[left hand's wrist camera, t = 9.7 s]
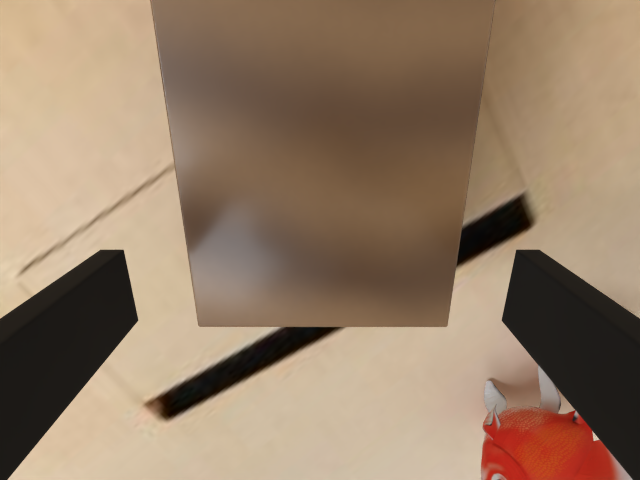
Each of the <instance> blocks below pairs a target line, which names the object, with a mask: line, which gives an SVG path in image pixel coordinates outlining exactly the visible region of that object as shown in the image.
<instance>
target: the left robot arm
mask: <svg viewBox="0 0 640 480" xmlns="http://www.w3.org/2000/svg"><path fill="white" fill-rule="evenodd" d="M137 321H138V317H137V312H136V307H135V302H134V298H133V293H132V288H131V283H130V278H129V273H128V269H127V264H126V259H125V254H124V250H100V251H98V252H97V253H95V254H94V255H92V256H91V257H90V258H88V259H87V260H85V261H84V262H82V263H81V264H79V265H78V266H76V267H75V268H74V269H72V270H71V271H69V272H68V273H66V274H65V275H63V276H62V277H60V278H59V279H57V280H56V281H55V282H53V283H52V284H50V285H49V286H47V287H46V288H44V289H43V290H41V291H40V292H39V293H37V294H36V295H34V296H33V297H31V298H30V299H28V300H27V301H25V302H24V303H23V304H21V305H20V306H18V307H17V308H15V309H14V310H12V311H11V312H9V313H8V314H6V315H5V316H4V317H2V318H1V319H0V480H7V479H8V478H9V477H10V476H11V475H12V473H13V472H14V471H15V470H16V468H17V467H18V466H19V465H20V464H21V462H22V461H23V460H24V459H25V458H26V456H27V455H28V454H29V453H30V451H31V450H32V449H33V448H34V447H35V445H36V444H37V443H38V442H39V441H40V439H41V438H42V437H43V436H44V434H45V433H46V432H47V431H48V430H49V428H50V427H51V426H52V425H53V423H54V422H55V421H56V420H57V419H58V417H59V416H60V415H61V414H62V413H63V411H64V410H65V409H66V408H67V406H68V405H69V404H70V403H71V402H72V400H73V399H74V398H75V397H76V395H77V394H78V393H79V392H80V391H81V389H82V388H83V387H84V386H85V385H86V383H87V382H88V381H89V380H90V378H91V377H92V376H93V375H94V374H95V372H96V371H97V370H98V369H99V368H100V366H101V365H102V364H103V363H104V361H105V360H106V359H107V358H108V357H109V355H110V354H111V353H112V352H113V350H114V349H115V348H116V347H117V346H118V344H119V343H120V342H121V341H122V340H123V338H124V337H125V336H126V335H127V333H128V332H129V331H130V330H131V329H132V327H133V326H134V325H135V324H136V323H137ZM502 321H503V323H504V324H505V325H506V326H507V327H508V329H509V330H510V331H511V332H512V333H513V335H514V336H515V337H516V338H517V340H518V341H519V342H520V343H521V344H522V346H523V347H524V348H525V349H526V350H527V352H528V353H529V354H530V355H531V357H532V358H533V359H534V360H535V361H536V363H537V364H538V365H539V366H540V368H541V369H542V370H543V371H544V372H545V374H546V375H547V376H548V377H549V378H550V380H551V381H552V382H553V383H554V385H555V386H556V387H557V388H558V389H559V391H560V392H561V393H562V394H563V396H564V397H565V398H566V399H567V400H568V402H569V403H570V404H571V405H572V406H573V408H574V409H575V410H576V411H577V413H578V414H579V415H580V416H581V417H582V419H583V420H584V421H585V422H586V423H587V425H588V426H589V427H590V428H591V430H592V431H593V432H594V433H595V434H596V436H597V437H598V438H599V439H600V441H601V442H602V443H603V444H604V445H605V447H606V448H607V449H608V450H609V451H610V453H611V454H612V455H613V456H614V458H615V459H616V460H617V461H618V462H619V464H620V465H621V466H622V467H623V468H624V470H625V471H626V472H627V473H628V475H629V476H630V477H631V478H632V479H633V480H640V319H639V318H638V317H636V316H635V315H634V314H632V313H631V312H629V311H628V310H626V309H625V308H623V307H622V306H620V305H619V304H617V303H616V302H615V301H613V300H612V299H610V298H609V297H607V296H606V295H604V294H603V293H601V292H600V291H599V290H597V289H596V288H594V287H593V286H591V285H590V284H588V283H587V282H585V281H584V280H583V279H581V278H580V277H578V276H577V275H575V274H574V273H572V272H571V271H569V270H568V269H566V268H565V267H564V266H562V265H561V264H559V263H558V262H556V261H555V260H553V259H552V258H550V257H549V256H548V255H546V254H545V253H543V252H542V251H540V250H516V254H515V259H514V264H513V269H512V273H511V278H510V283H509V288H508V293H507V298H506V302H505V307H504V312H503V317H502Z"/></svg>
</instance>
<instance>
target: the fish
mask: <svg viewBox="0 0 640 480" xmlns="http://www.w3.org/2000/svg"><path fill="white" fill-rule="evenodd" d="M538 377H539V384H540V391H541V404H540V407H539V408H536V407H527V406H524V407H514V408H510V409H507V410H506V407H507V402H506V398H505V397H504V396H503V395H502V393H501V392H500V391H499V390H498V389H497V388H496V387H495V385H494V384H493V383H492V381H487V382H486V384H485V391H484V401H485V405H486V408H487V410H488V412H489V413H488V415H487V417H486V419H485V421H484V423H483V430H484V431H485V433H486V434H485V438H484V443H483V449H482V462H481V480H633V479H632V478H631V477H630V476H629V475H628V473H627V472H626V471H625V470H624V468H623V467H622V466H621V465H620V464H619V462H618V461H617V460H616V459H615V458H614V456H613V455H612V454H611V453H610V451H609V450H608V449H607V448H606V447H605V445H604V444H603V443H602V442H601V441H600V440H597V441H593V434H592V430H591V428H590V427H589V426H588V425H587V423H586V422H585V421H584V420H583V419H582V417H581V416H580V415H579V414H578V413H577V411H576V410H575V411H572V412H569V413H567V414H558V412H559V410H560V406H561V401H560V396H559V394H558V391H557V389H556V387H555V385H554V383H553V382H552V381H551V380H550V378H549V377H548V376H547V375H546V374H545V372H544V371H543V370H542V369H541V368H540V366H539V365H538Z"/></svg>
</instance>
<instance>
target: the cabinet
mask: <svg viewBox="0 0 640 480" xmlns="http://www.w3.org/2000/svg"><path fill="white" fill-rule="evenodd" d="M150 1H151V8H152V15H153V22H154V28H155V35H156V42H157V49H158V55H159V62H160V69H161V76H162V83H163V89H164V96H165V103H166V110H167V116H168V123H169V130H170V137H171V143H172V150H173V157H174V164H175V170H176V177H177V184H178V191H179V198H180V204H181V211H182V218H183V225H184V231H185V238H186V245H187V252H188V258H189V265H190V272H191V279H192V285H193V292H194V299H195V306H196V313H197V319H198V325H199V326H200V327H447V325H448V318H449V311H450V305H451V298H452V291H453V284H454V277H455V271H456V264H457V257H458V250H459V244H460V237H461V230H462V223H463V216H464V210H465V203H466V196H467V189H468V182H469V176H470V169H471V162H472V155H473V149H474V142H475V135H476V128H477V121H478V115H479V108H480V101H481V94H482V88H483V81H484V74H485V67H486V60H487V54H488V47H489V40H490V33H491V26H492V20H493V13H494V6H495V0H150Z"/></svg>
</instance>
